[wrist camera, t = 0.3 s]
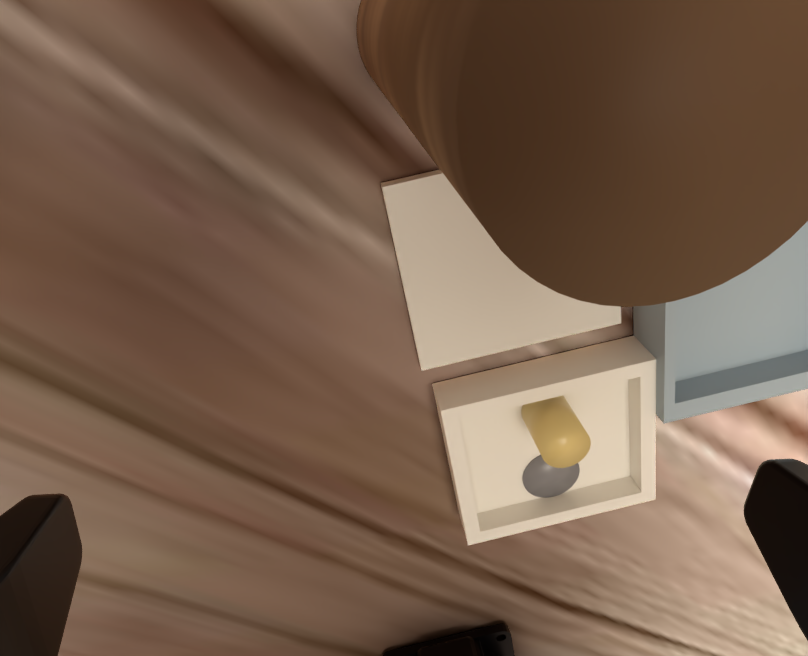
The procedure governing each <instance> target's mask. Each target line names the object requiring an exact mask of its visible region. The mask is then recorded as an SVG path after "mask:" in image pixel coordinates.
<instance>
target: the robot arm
mask: <svg viewBox="0 0 808 656" xmlns="http://www.w3.org/2000/svg"><path fill="white" fill-rule="evenodd" d="M744 517H745V521H746V523H747V526H748V528H749V530H750V532H751V534H752V535H753V537H754V539H755V541H756V543H757V545H758V547H759V549H760V551H761V553H762V555H763V557H764V559H765V561H766V563H767V565H768V567H769V569H770V571H771V573H772V575H773V577H774V579H775V581H776V583H777V585H778V587H779V589H780V591H781V593H782V595H783V596H784V598H785V600H786V602H787V604H788V606H789V608H790V610H791V612H792V614H793V616H794V618H795V620H796V621H797V623H798V625H799V627H800V629H801V630H802V632H803V634H804V635H805V637H806V639H807V640H808V465H807V464H805V463H803V462H801V461H798V460H794V459H775V460H767V461H764V462H763V463H762V464H761V465H760V466H759V468H758V470H757V472H756V475H755V478H754V480H753V483H752V485H751V488H750V491H749V493H748V496H747V499H746V501H745V504H744ZM81 560H82V544H81V540H80V536H79V532H78V528H77V524H76V520H75V516H74V512H73V508H72V504H71V501H70V499H69V498H68V496H66V495H64V494H42V495H32V496H28V497H26V498H24V499H23V500H21V501H20V502H19V503H17V504H16V505H14V506H13V507H12V508H10V509H9V510H8V511H6V512H5V513H3V514H2V515H1V516H0V656H58V652H59V648H60V644H61V641H62V637H63V633H64V629H65V625H66V621H67V617H68V613H69V609H70V605H71V601H72V597H73V593H74V589H75V586H76V582H77V578H78V574H79V570H80V566H81ZM383 656H514V650H513V644H512V638H511V634H510V631H509V628H508V626H507V625H505V624H497V625H493V626H489V627H485V628H481V629H477V630H473V631H469V632H465V633H461V634H457V635H453V636H449V637H445V638H441V639H437V640H433V641H429V642H425V643H421V644H417V645H413V646H409V647H405V648H400V649H396V650H392V651H389V652H386V653H385V654H384V655H383Z"/></svg>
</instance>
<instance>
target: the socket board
mask: <svg viewBox="0 0 808 656" xmlns="http://www.w3.org/2000/svg"><path fill="white" fill-rule="evenodd" d="M633 324H634V336H635V337H636V338H637V340H638V341H639V342H640V343H641V344H642V345H643V346H644V347H645V348H646V349H647V350H648V351H649V352H650V353H651V354H652V355H653V356H654V357H655V358H656V415H657V416H658V417H659V418H660V419H661V421H662V422H663V423H668V422H672V421H676V420H680V419H684V418H689V417H693V416H697V415H701V414H705V413H709V412H713V411H717V410H722V409H726V408H730V407H734V406H738V405H742V404H746V403H750V402H755V401H759V400H763V399H767V398H771V397H775V396H779V395H784V394H788V393H792V392H796V391H800V390H804V389H808V221H807V222H806V223H805V224H804V225H803V226H802V227H801V228H800V229H799V230H798V231H797V232H796V233H795V234H794V235H793V236H792V237H791V238H790V239H789V240H788V241H786V242H785V243H784V244H783V245H781V246H780V247H779V248H778V249H777V250H775V251H774V252H773V253H772V254H770V255H769V256H768V257H766V258H765V259H763V260H762V261H760V262H759V263H757V264H756V265H754V266H753V267H751V268H750V269H749V270H747V271H745V272H744V273H742V274H740V275H738V276H736V277H734V278H733V279H731V280H729V281H727V282H725V283H723V284H721V285H719V286H716V287H714V288H712V289H709V290H707V291H704V292H702V293H700V294H697V295H693V296H690V297H687V298H683V299H680V300H676V301H672V302H667V303H661V304H656V305H650V306H633Z"/></svg>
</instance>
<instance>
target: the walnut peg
mask: <svg viewBox="0 0 808 656" xmlns="http://www.w3.org/2000/svg"><path fill="white" fill-rule="evenodd" d="M357 42H358V48H359V52H360V55H361V59H362V61H363V63H364V66H365V68H366V70H367V72H368V73H369V75H370V77H371V78H372V79H373V81H374V82H375V83H376V85H377V86H378V87H379V89H380V90H381V91H382V93H383V94H384V95H385V97H386V98H387V99H388V101H389V102H390V103H391V105H392V106H393V107H394V109H395V110H396V111H397V113H398V114H399V115H400V117H401V118H402V119H403V121H404V122H405V123H406V125H407V126H408V127H409V129H410V130H411V131H412V133H413V134H414V135H415V137H416V138H417V139H418V141H419V142H420V143H421V145H422V146H423V147H424V149H425V150H426V151H427V153H428V154H429V155H430V157H431V158H432V159H433V161H434V162H435V163H436V165H437V166H438V167H439V169H440V170H441V171H442V173H443V174H444V175H445V177H446V178H447V179H448V181H449V182H450V183H451V185H452V186H453V187H454V189H455V190H456V191H457V193H458V194H459V195H460V197H461V198H462V199H463V201H464V202H465V203H466V205H467V206H468V207H469V209H470V210H471V211H472V213H473V214H474V215H475V217H476V218H477V219H478V221H479V222H480V223H481V225H482V226H483V227H484V229H485V230H486V231H487V233H488V234H489V235H490V237H491V238H492V239H493V241H494V242H495V243H496V245H497V246H498V247H499V249H500V250H501V251H502V252H503V253H504V254H505V255H506V256H507V257H508V258H509V259H510V260H511V261H512V262H513V263H514V264H515V265H516V266H517V267H518V268H519V269H520V270H522V271H523V272H524V273H526V274H527V275H528V276H530V277H531V278H532V279H534V280H535V281H537V282H538V283H540V284H542V285H544V286H546V287H548V288H549V289H551V290H553V291H555V292H557V293H559V294H562V295H565V296H568V297H571V298H574V299H576V300H579V301H584V302H589V303H594V304H598V305H605V306H620V307H633V306H650V305H656V304H661V303H667V302H672V301H676V300H680V299H683V298H687V297H690V296H693V295H697V294H700V293H702V292H704V291H707V290H709V289H712V288H714V287H716V286H719V285H721V284H723V283H725V282H727V281H729V280H731V279H733V278H734V277H736V276H738V275H740V274H742V273H744V272H745V271H747V270H749V269H750V268H751V267H753V266H754V265H756V264H757V263H759V262H760V261H762V260H763V259H765V258H766V257H768V256H769V255H770V254H772V253H773V252H774V251H775V250H777V249H778V248H779V247H780V246H781V245H783V244H784V243H785V242H786V241H788V240H789V239H790V238H791V237H792V236H793V235H794V234H795V233H796V232H797V231H798V230H799V229H800V228H801V227H802V226H803V225H804V224H805V223H806V222H807V221H808V0H361V3H360V6H359V11H358V16H357Z"/></svg>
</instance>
